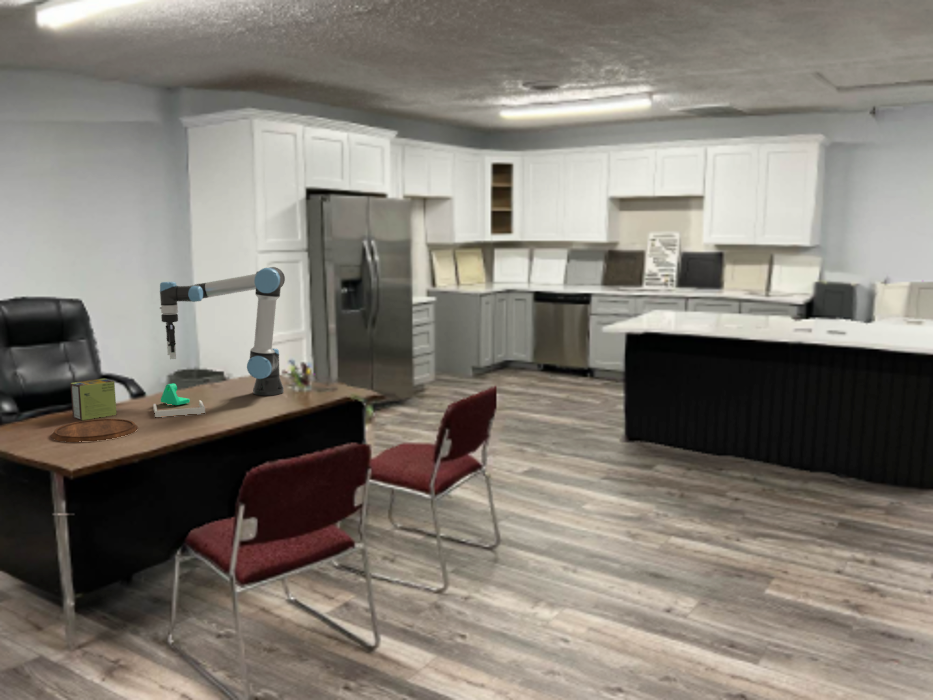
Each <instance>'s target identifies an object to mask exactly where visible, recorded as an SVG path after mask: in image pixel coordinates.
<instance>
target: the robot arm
mask: <svg viewBox="0 0 933 700" xmlns="http://www.w3.org/2000/svg"><path fill="white" fill-rule="evenodd" d="M285 282H286V277H285V274H284V272H283V271H282V270H281V269H280V268H278V267H275V266H270V267H264V268H261V269H260V270H258V271H256V272H255V273H254V274H246V275H243V276H242V275H241V276H236V277H231V278H225V279H219V280H213V281H209V282H208V281H207V282H202V283H196V284H195V283H194V284H192V285H177V282H176V281H161V282H160V284H159V298H160V299H159V300H160V307H159V310H160V311H161V312H160V313H161V315H160V317H161V323H165V332H166V349H167V356H169V359H170V360H176V359H177V352H176V351H177V349H176V344H177V343H176V334H175V333H176V332H175V331H176V328H175V327H176V326H175V324H174V323H177V322H179V316H178V315H179V314H178V312H179V311H178V303H179V302H190V303H191V302H193V303H195V302H196V303H197V302H201V301H202V300H203V299H208V298H213V297H219V296H225V295H231V294H235V293H236V294H237V293H243V292H248V291H253V290H255V296H256V297H257V309H256V319H255V320H256V321H255V331H254V342H253V347H252V348H250V350H249V352H250V353H249V359H248V361H247V364H246V370H247V372H248V374H249V375H250V376H251V377H253V379H254V378H255V382H254V385H253V389H252V390H253V392H252V394H253V395H255V396H266V397H267V396H276V395H277V396H278V395H281V394H283V393H284V392H285V391H284V385H283V383H282V380H281V375H280V374H281V373H280V351H279V349H278V348H273V340H274V331H275V330H274V329H275V320H276V318H275V317H276V309H277V300H278V299H280V297H281V289H282V287H283V286H284V285H285Z"/></svg>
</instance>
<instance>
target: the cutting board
mask: <svg viewBox="0 0 933 700" xmlns="http://www.w3.org/2000/svg"><path fill="white" fill-rule="evenodd" d="M137 429H139V427H138V425H137V424H135V422H133V421H132V420H129V419H123V418H95V419H88V420H80V421H75V422H70V423H67V424H66V423H65V424H64V425H61V426H59V427H57V428H56V429H54V431H53V433H51V439H52V438H53V439H55V440H54V441H56V440H58V441H57V442H60V441H66V442H65V443H67V442H79V441H81V442H82V441H97V440H106V439H112V438H117V437H121V436H125V435H128V434H131V433H133V432H135V431H136V430H137ZM137 431H138V430H137ZM137 431H136V432H137ZM136 432H135V433H136ZM133 434H134V433H133ZM131 435H132V434H131ZM128 436H129V435H128ZM125 437H126V436H125ZM121 438H122V437H121ZM53 439H52V440H53ZM117 439H118V438H117ZM112 440H113V439H112Z"/></svg>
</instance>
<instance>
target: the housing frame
mask: <svg viewBox="0 0 933 700" xmlns="http://www.w3.org/2000/svg"><path fill="white" fill-rule="evenodd" d="M198 403H199V404H198V405H199V406H200V407H199V406H198V407H187V408H175V409H165V410H164V409H163V410H158V407H157V404H156V403H153V407H152V408H153V412H154V413H155V414H154V418H155V417H161V416H173V415H185V416H188V415H187V414H197V415H202V414H201V413H205V414H206V406H205V405H204V403H203V401H202V400H200V399H199V400H198Z"/></svg>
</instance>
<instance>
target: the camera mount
mask: <svg viewBox="0 0 933 700" xmlns="http://www.w3.org/2000/svg"><path fill="white" fill-rule="evenodd" d="M177 391H178V386H177V384H176V383H173V382H172V383H167V384H165V387H164V389H163V392H162V395H161V397H160V402H161V403H164V404H166V403H167V404H172V405H175V406H180V405H184V404H189V403H190V401H191V398H187V397H180V396H178V394H177Z"/></svg>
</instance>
